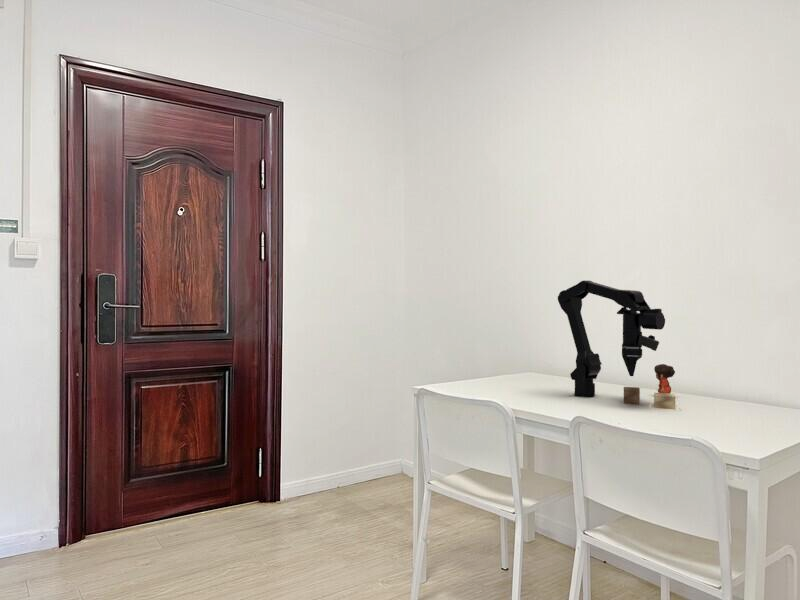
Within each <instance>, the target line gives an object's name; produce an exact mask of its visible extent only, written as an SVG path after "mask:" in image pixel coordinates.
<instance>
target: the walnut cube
mask: <svg viewBox="0 0 800 600" xmlns="http://www.w3.org/2000/svg"><path fill="white" fill-rule="evenodd" d="M640 388H641V387H639V386H638V387H636V386H635V387H634V386H623V404H624V405H636V406H638V405H640V404H641V399H640V398H641V397H640V396H641V395H640V394H641V393H640V391H641V390H640Z"/></svg>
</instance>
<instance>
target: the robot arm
mask: <svg viewBox="0 0 800 600" xmlns="http://www.w3.org/2000/svg"><path fill="white" fill-rule="evenodd" d="M589 294H592V295H595V296H599V297H602V298H605V299H607V300H608V299H609V300H612V301H614V302H615V304H617V305H619V306H621V308H620V309H619V310H618V311H617V312H616V314H617V315H622V344H621V357H622V359H623V362H624V365H625V367H626V369H627V372H628V374H629V377H634V374H635V370H636V367H637V362H638V360H640V359H641V358H642V356H643V349H642V348H643V347H646V348H648V349H650V350H652V351H653V352H654V351H655V352H657V350H658V347H659V345H660V341H659V340H656V337H655V336H654V335H652V334H650V335H648V336H645V335H643V332H642V329H644V330H663V329H664V327H665V324H666V318H665V315H664V313H663V312H662V311H663V309H662V308H651V307H650V305H649V304H648V303H647V301H646V300H645V298H644V294H643V292H641V291H640V290H631V289H619V288H614V287H611V286H608V285H605V284H600V283H598V282H594V281H592V280H581V281H579V282H578V283H577V284H574V285H572V286H571V287H568V288H567V289H566V290H565V289H564V290H561V291H560V292H559V294H558V295H557V301H558V304H559V306H560V308H561V310H562V311H563V312H564V314H566V315H567V319H568V323H569V327H570V330H571V333H572V337H573V342H574V347H575V349H576V358H575V368H574V369H573V370H572V372H570V378H571V380H573V381H574V395H573V397H575V398H576V397H577V398H594V397H595V395H596V383H594V380H596V379H597V378H598V374H600V372H601V370H602V366H601V365H602V361H601V359H600V355H599V353H594V351H593V350H592V348H591V345H590V342H589V337H588V334H587V330H586V326H585V323H584V321H583V316H582V307H583V301H582V300H584V299H585V298H586V297H587V296H588V295H589Z"/></svg>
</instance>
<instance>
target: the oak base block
mask: <svg viewBox="0 0 800 600" xmlns="http://www.w3.org/2000/svg"><path fill="white" fill-rule="evenodd" d="M653 397H654V398H653V404H654V406H655V408H662V409H675V405H676V395H675V393H671V394H670V393H658V392H654V393H653ZM662 409H661V410H662Z"/></svg>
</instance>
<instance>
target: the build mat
mask: <svg viewBox="0 0 800 600" xmlns="http://www.w3.org/2000/svg"><path fill="white" fill-rule="evenodd" d="M648 405H649V409H650V410H662V411H663V410H665V411H678V412H679V411H682V410H681V407H680V405H678V404H675V409H662V408H655V406H654V403H649V404H648Z"/></svg>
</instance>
